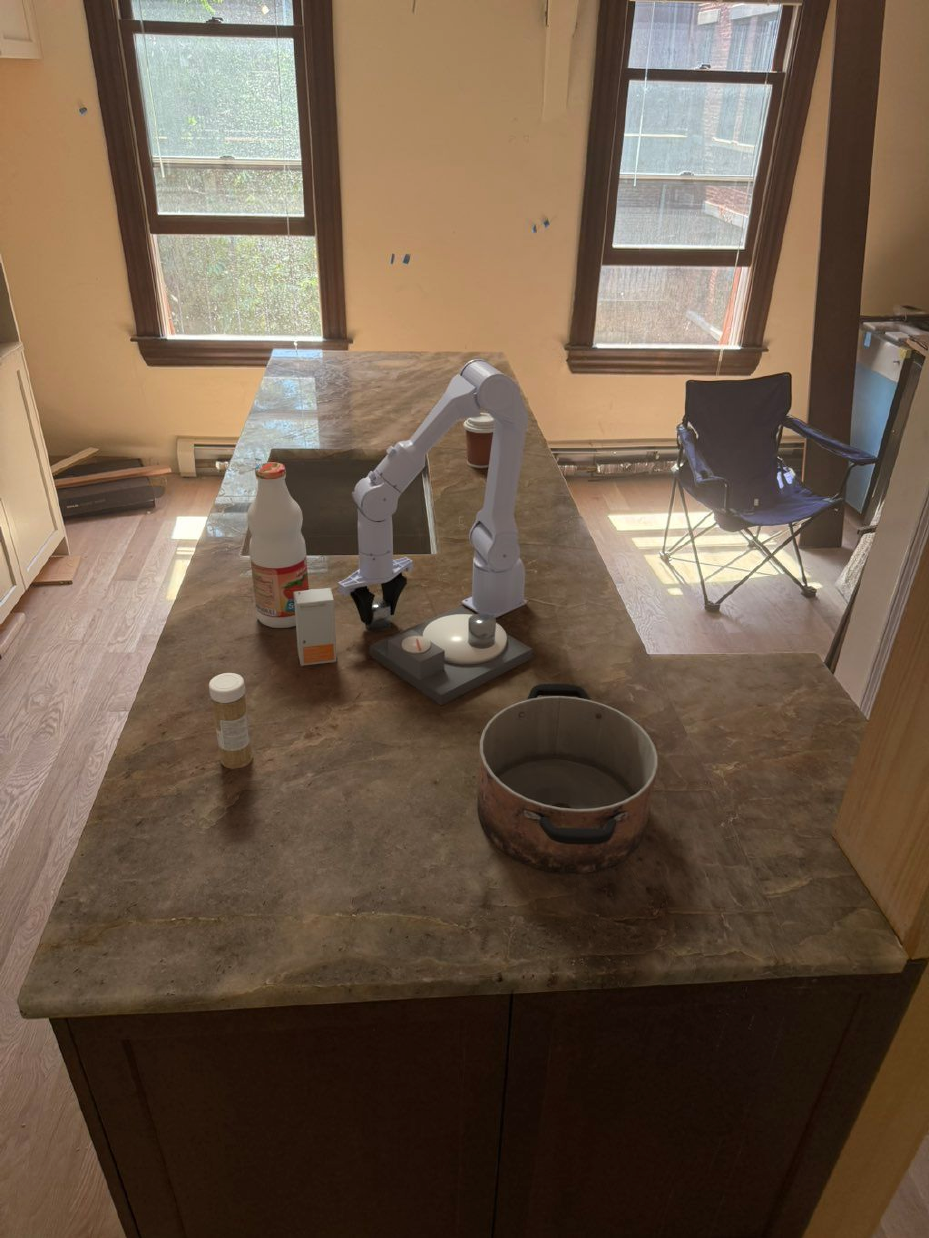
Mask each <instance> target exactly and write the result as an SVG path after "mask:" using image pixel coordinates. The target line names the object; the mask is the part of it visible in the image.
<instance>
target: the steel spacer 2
mask: <svg viewBox="0 0 929 1238" xmlns="http://www.w3.org/2000/svg"><path fill="white" fill-rule="evenodd" d="M496 623H497V619H496V618H494V617H493V616H491V615H488V614H479V613H476V614H474V615H472V616H471V617H470V618H469V621H468V643H469V645H471V646H472V647H475V648H479V649H485V648H490V647H492V646H493V645H494V644H495V632H496Z"/></svg>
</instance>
